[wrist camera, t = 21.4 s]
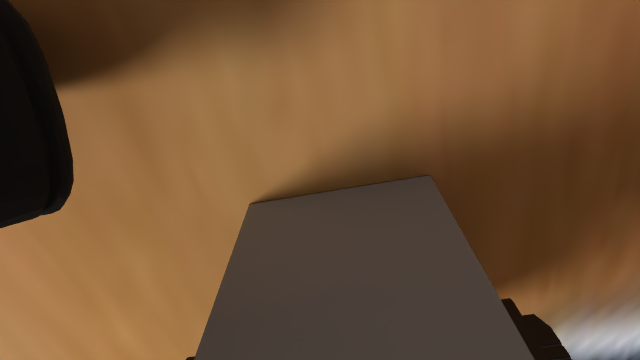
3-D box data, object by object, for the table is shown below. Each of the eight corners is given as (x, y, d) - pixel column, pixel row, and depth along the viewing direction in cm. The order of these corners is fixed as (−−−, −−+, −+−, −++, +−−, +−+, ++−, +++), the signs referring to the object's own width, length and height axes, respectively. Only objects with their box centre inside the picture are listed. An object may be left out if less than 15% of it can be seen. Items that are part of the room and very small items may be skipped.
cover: (288, 333, 17) (262, 579, 10) (249, 204, 14) (172, 417, 7) (440, 313, 17) (528, 560, 9) (430, 175, 14) (544, 376, 7)
